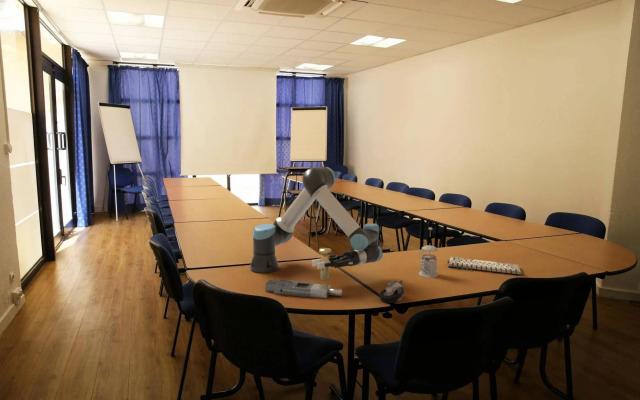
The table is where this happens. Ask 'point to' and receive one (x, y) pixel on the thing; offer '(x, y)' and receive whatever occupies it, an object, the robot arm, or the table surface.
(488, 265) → the mechanical keyboard
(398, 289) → the caster wheel
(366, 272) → the table surface
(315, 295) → the clevis
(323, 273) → the clevis pin
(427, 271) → the french press
